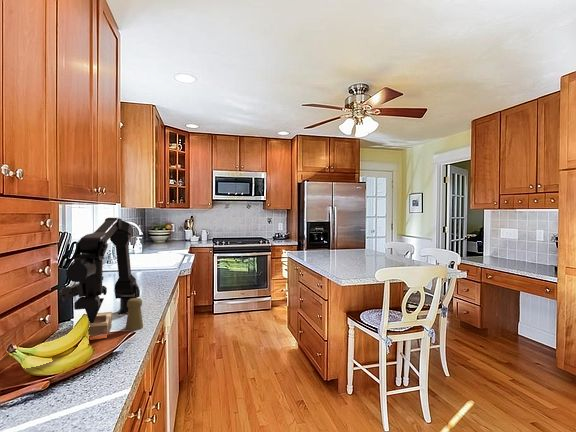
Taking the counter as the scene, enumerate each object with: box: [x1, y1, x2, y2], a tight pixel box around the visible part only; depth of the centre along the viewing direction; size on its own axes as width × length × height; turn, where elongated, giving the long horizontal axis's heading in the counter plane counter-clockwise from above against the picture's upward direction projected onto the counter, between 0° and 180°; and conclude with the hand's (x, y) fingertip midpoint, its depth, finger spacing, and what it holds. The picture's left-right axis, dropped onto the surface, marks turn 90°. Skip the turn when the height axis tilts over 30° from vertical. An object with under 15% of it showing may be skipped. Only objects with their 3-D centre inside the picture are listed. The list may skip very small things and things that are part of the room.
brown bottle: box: [125, 297, 144, 332], centre depth 119 cm, size 6×6×11 cm
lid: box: [90, 311, 113, 327], centre depth 113 cm, size 12×8×3 cm, turn 22°
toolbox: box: [89, 315, 113, 337], centre depth 113 cm, size 12×8×4 cm, turn 22°
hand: (91, 322), depth 104 cm, fingers closed
